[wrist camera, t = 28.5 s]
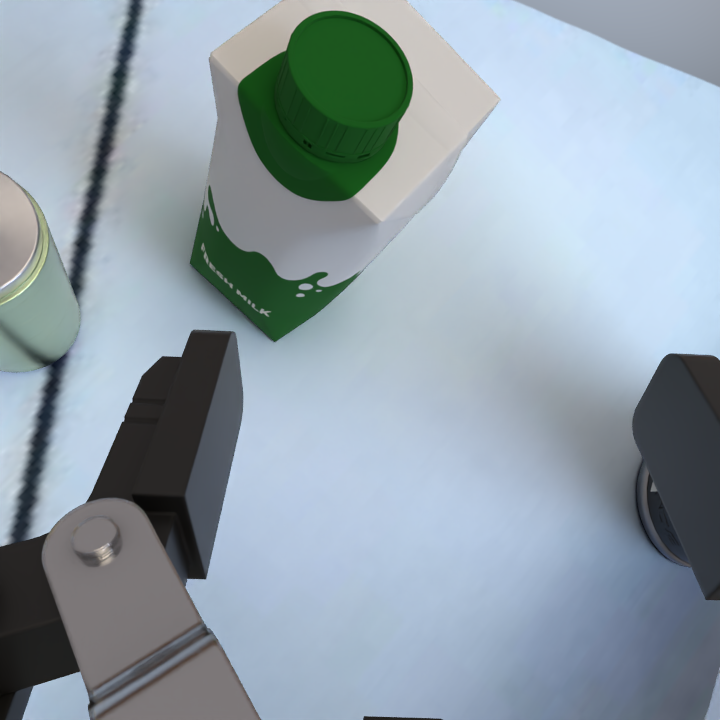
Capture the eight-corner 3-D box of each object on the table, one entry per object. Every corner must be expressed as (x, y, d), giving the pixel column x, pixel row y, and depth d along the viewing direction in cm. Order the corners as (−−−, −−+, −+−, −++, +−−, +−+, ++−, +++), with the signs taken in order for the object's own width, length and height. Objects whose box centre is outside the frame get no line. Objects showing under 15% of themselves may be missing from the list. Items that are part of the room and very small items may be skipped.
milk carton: (166, 263, 34) (183, -7, 16) (268, 175, 38) (379, -131, 19) (276, 363, 35) (412, 220, 17) (365, 268, 38) (559, 63, 20)
